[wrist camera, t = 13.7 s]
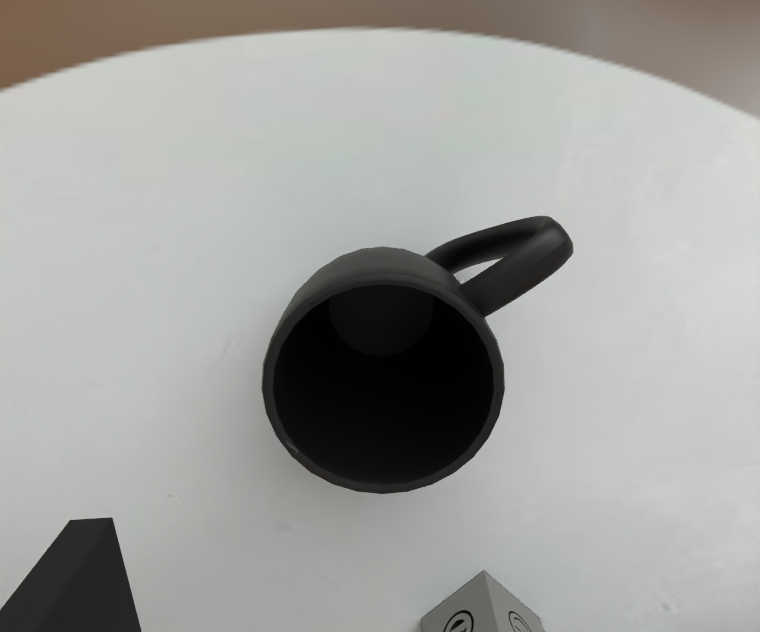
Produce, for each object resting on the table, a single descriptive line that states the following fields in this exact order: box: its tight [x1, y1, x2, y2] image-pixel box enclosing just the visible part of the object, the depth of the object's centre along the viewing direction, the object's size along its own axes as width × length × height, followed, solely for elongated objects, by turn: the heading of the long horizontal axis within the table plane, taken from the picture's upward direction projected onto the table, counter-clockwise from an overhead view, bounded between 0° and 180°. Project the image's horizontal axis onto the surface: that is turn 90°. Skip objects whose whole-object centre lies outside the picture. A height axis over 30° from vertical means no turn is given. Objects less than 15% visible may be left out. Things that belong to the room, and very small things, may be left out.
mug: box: [262, 216, 573, 494], centre depth 24 cm, size 8×12×10 cm
